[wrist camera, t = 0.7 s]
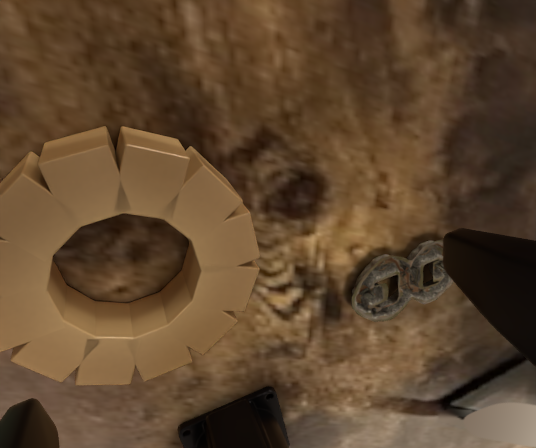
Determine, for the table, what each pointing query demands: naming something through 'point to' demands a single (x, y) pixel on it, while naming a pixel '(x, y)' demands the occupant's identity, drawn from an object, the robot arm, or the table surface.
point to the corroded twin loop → (400, 282)
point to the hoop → (102, 207)
